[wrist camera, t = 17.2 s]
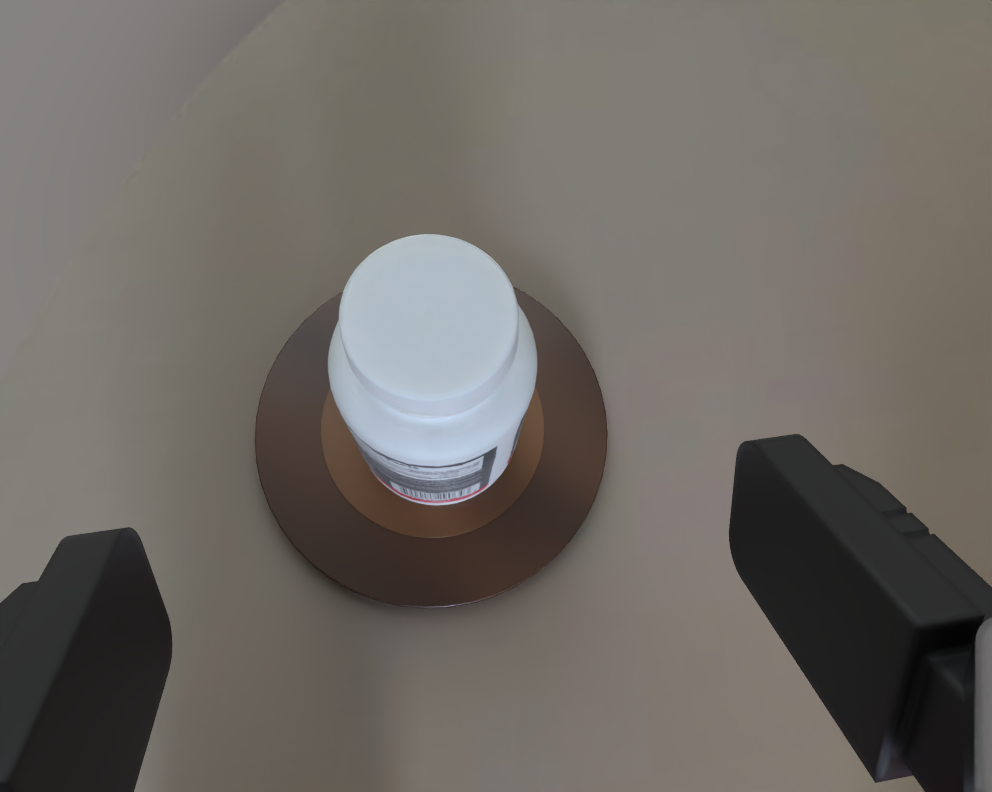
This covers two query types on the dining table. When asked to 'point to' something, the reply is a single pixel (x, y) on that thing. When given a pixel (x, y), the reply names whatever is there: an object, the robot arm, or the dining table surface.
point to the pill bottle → (432, 367)
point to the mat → (419, 527)
